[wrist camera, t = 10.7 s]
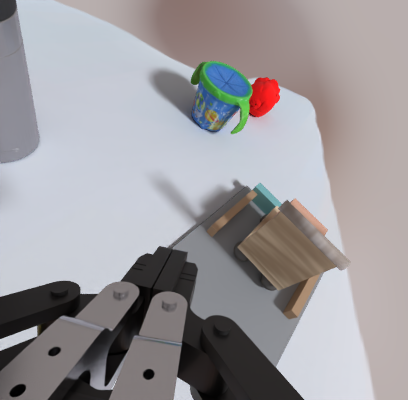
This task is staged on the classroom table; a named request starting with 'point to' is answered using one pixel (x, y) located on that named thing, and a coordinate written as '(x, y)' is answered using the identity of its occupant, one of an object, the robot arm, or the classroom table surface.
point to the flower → (263, 96)
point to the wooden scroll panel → (289, 247)
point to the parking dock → (243, 275)
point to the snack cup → (220, 96)
